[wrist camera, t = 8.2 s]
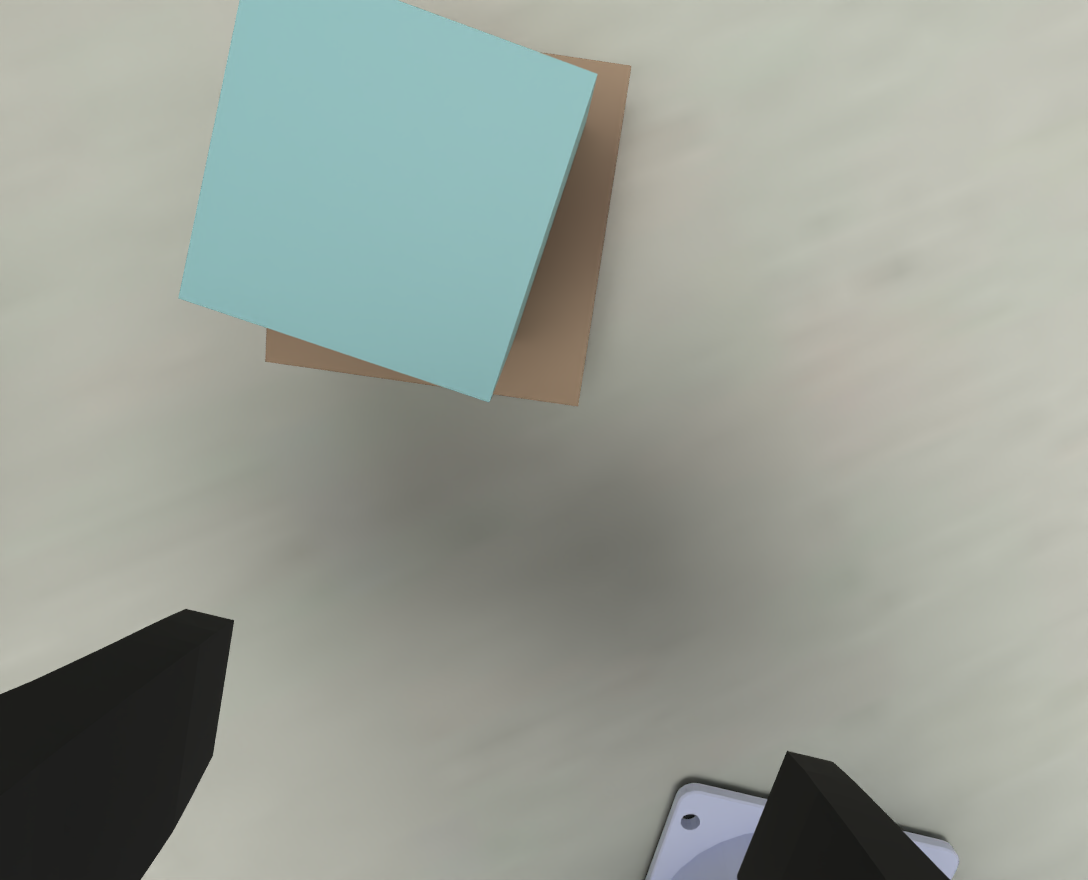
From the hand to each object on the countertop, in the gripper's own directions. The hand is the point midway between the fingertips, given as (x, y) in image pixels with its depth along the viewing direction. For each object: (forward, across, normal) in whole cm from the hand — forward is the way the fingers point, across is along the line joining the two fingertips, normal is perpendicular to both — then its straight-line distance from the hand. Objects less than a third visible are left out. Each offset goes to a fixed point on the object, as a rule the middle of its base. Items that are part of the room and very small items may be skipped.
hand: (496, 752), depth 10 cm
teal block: (+6, +3, -6) cm, 9 cm away
